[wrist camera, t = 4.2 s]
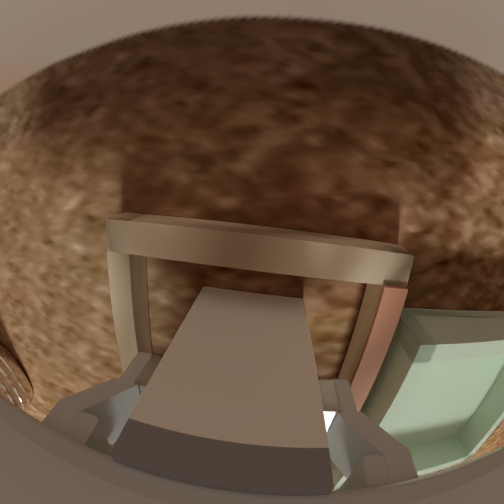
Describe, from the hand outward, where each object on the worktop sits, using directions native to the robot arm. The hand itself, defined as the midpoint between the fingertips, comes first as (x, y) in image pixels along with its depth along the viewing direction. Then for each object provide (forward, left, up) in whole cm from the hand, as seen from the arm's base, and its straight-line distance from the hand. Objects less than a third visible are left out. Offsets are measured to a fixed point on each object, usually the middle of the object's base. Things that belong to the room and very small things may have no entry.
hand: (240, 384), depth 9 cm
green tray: (-11, +3, -3) cm, 12 cm away
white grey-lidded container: (0, 0, -3) cm, 3 cm away
